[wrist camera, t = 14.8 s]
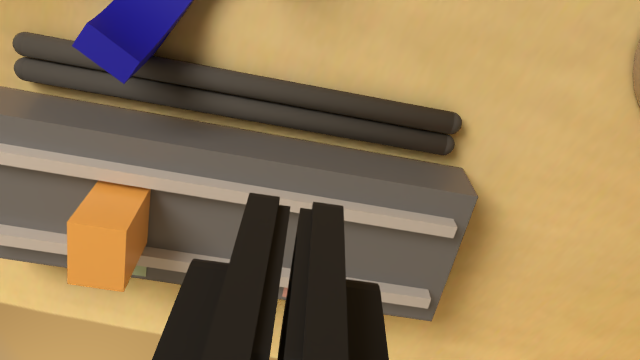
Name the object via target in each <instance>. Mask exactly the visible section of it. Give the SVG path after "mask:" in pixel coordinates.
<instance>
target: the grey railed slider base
mask: <svg viewBox="0 0 640 360" xmlns="http://www.w3.org/2000/svg"><path fill="white" fill-rule="evenodd" d="M98 180H99V181H105V182H111V183H117V184H123V185H129V186H136V187H142V188H148V189H151V193H150V208H149V223H148V238H147V244H146V246H145V248H144V250H143V252H142V254H141V256H140V259H139V261H138V263H137V265H136V267H135V269H134V271H133V273H132V275H131V277H133V278H140V279H147V280H153V281H160V282H167V283H174V284H181V285H182V283H183V280H184V278H185V275H186V273H187V270H188V268H189V265H190V263H191V261H192V260H193V259H194V258H195V259H202V260H209V261H217V262H224V263H229V262H230V259H231V255H232V252H233V248H234V245H235V241H236V238H237V234H238V231H239V227H240V224H241V220H242V217H243V213H244V210H245V206H246V203H247V200H248V196H249V193H257V194H264V195H271V196H278V197H280V201H279V205H285V206H291V207H290V215H289V222H288V229H287V236H286V243H285V250H284V257H283V264H282V272H281V279H280V286H279V293H278V299H283V300H286V296H287V290H288V283H289V277H290V270H291V264H292V258H293V251H294V245H295V238H296V232H297V225H298V219H299V212H300V208H306V209H312V204H313V202H320V203H327V204H334V205H341V206H343V208H344V236H345V266H346V279H349V280H357V281H364V282H371V283H378V285H379V286H380V291H381V299H382V308H383V314H385V315H392V316H399V317H406V318H413V319H419V320H426V321H432V319H433V316H434V313H435V311H436V308H437V305H438V303H439V300H440V297H441V295H442V292H443V289H444V287H445V284H446V281H447V279H448V276H449V273H450V271H451V268H452V265H453V263H454V260H455V257H456V255H457V252H458V249H459V247H460V244H461V241H462V239H463V236H464V233H465V231H466V228H467V225H468V223H469V220H470V217H471V215H472V212H473V209H474V207H475V204H476V201H477V199H478V195H477V194H476V192H475V190H474V188H473V187H472V185H471V183H470V181H469V179H468V178H467V176H466V174H465V172H464V171H463V169H462V168H458V167H453V166H447V165H441V164H436V163H430V162H425V161H419V160H413V159H408V158H402V157H396V156H391V155H385V154H379V153H374V152H368V151H362V150H357V149H351V148H346V147H340V146H334V145H329V144H323V143H317V142H312V141H306V140H300V139H295V138H289V137H283V136H278V135H272V134H266V133H261V132H255V131H250V130H244V129H238V128H233V127H227V126H221V125H216V124H210V123H204V122H199V121H193V120H187V119H182V118H176V117H170V116H165V115H159V114H154V113H148V112H142V111H137V110H131V109H125V108H120V107H114V106H108V105H103V104H97V103H91V102H86V101H80V100H74V99H69V98H63V97H58V96H52V95H46V94H41V93H35V92H29V91H24V90H18V89H12V88H7V87H1V86H0V258H3V259H10V260H17V261H24V262H31V263H37V264H44V265H51V266H58V267H65V268H67V221H68V220H69V219H70V217H71V216H72V215H73V213H74V212H75V211H76V209H77V208H78V207H79V205H80V204H81V203H82V201H83V200H84V199H85V197H86V196H87V195H88V193H89V192H90V191H91V189H92V188H93V187H94V185H95V184H96V183H97V182H98Z"/></svg>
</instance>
